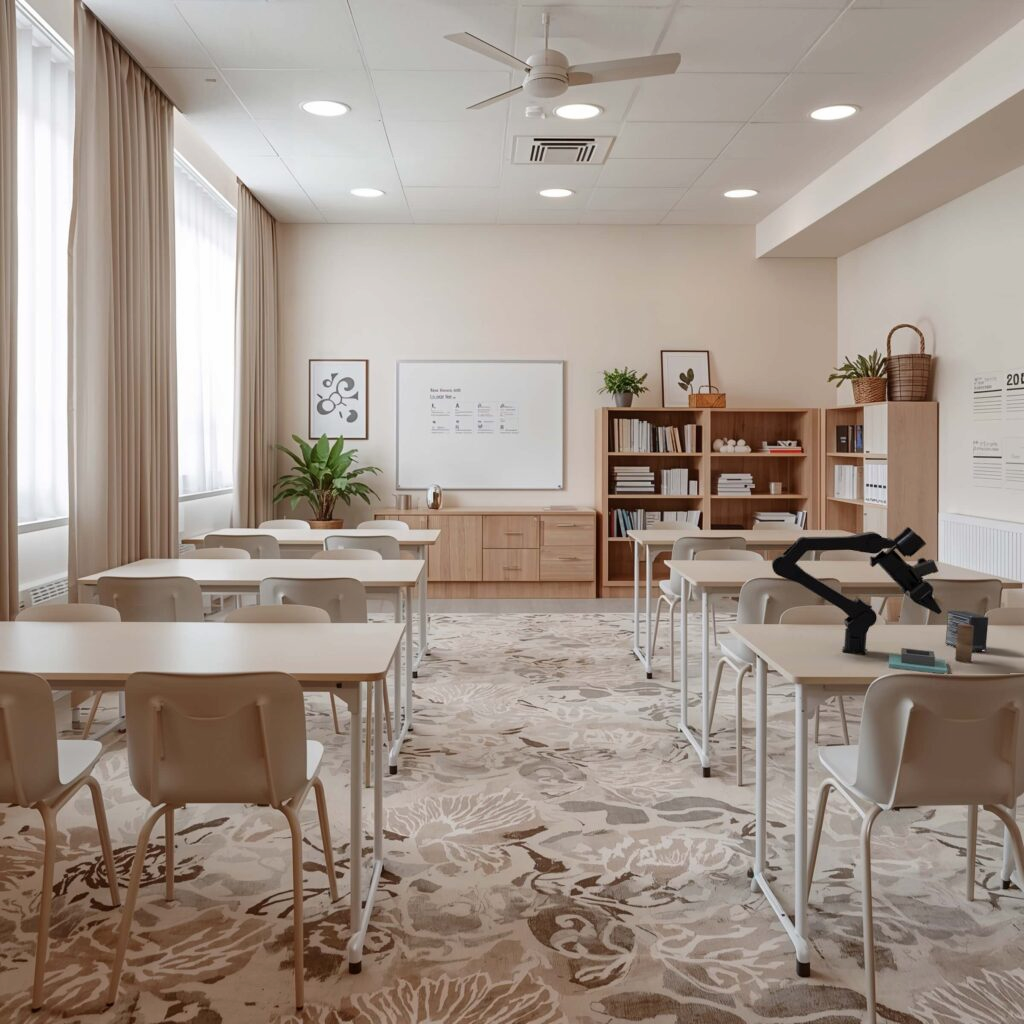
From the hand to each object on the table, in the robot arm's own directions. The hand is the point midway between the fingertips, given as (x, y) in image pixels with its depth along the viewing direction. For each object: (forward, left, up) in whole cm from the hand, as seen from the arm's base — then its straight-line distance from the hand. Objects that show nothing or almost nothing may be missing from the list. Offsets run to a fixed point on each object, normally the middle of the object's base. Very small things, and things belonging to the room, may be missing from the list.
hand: (936, 610), depth 249 cm
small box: (-21, +9, -14) cm, 27 cm away
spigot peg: (-1, +7, -14) cm, 16 cm away
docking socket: (+12, -5, -14) cm, 19 cm away
